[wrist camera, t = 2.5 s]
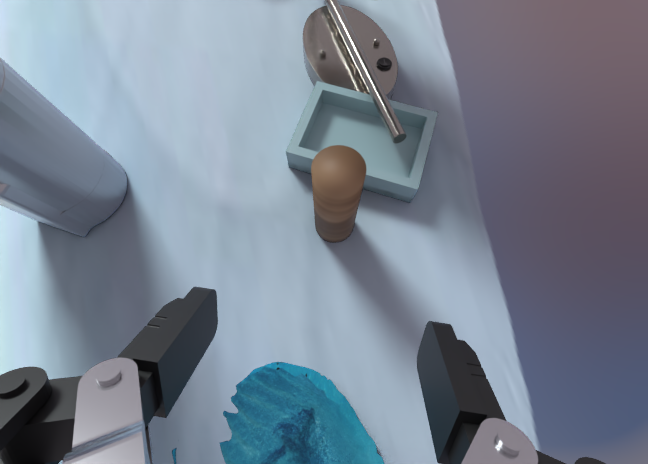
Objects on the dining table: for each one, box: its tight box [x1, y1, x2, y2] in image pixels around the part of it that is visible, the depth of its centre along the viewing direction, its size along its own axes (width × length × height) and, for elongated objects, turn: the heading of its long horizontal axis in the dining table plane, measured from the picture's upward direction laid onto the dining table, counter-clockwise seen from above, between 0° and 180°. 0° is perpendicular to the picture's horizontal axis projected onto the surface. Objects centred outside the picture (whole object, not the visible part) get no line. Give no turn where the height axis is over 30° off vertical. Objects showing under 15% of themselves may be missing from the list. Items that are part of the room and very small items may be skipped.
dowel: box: [311, 145, 367, 243], centre depth 28 cm, size 4×4×11 cm
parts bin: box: [286, 81, 438, 203], centre depth 35 cm, size 10×14×3 cm
